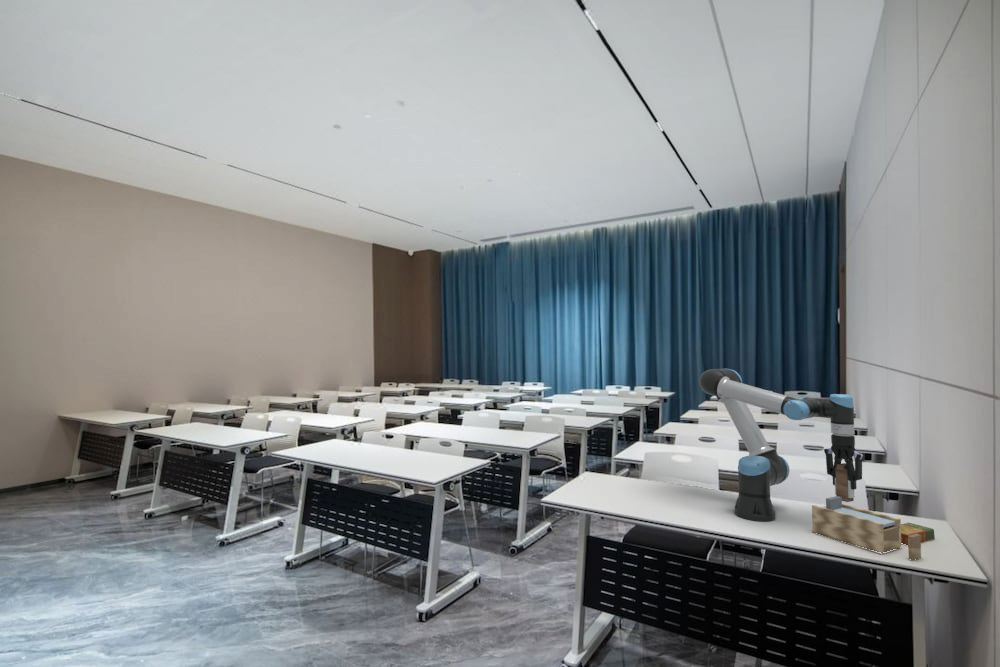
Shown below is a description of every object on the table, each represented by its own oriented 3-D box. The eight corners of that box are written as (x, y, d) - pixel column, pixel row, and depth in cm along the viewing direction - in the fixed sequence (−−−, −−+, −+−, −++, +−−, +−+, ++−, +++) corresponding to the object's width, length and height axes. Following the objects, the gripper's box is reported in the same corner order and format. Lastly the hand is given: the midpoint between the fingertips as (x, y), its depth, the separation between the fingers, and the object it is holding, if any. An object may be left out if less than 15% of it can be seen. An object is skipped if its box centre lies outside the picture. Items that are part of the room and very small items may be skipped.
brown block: (843, 498, 195) (841, 462, 196) (854, 500, 192) (852, 464, 192) (835, 499, 193) (834, 464, 194) (846, 502, 190) (845, 466, 190)
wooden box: (812, 532, 187) (811, 505, 188) (831, 527, 193) (831, 501, 193) (907, 563, 160) (906, 531, 161) (926, 556, 166) (925, 525, 166)
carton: (883, 539, 182) (882, 527, 182) (908, 532, 188) (908, 521, 188) (909, 547, 174) (909, 534, 174) (935, 540, 181) (934, 528, 181)
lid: (817, 510, 187) (817, 497, 187) (832, 507, 191) (831, 494, 191) (881, 528, 168) (880, 513, 169) (895, 524, 172) (895, 509, 173)
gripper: (814, 432, 199) (816, 491, 198) (861, 438, 184) (863, 503, 183) (825, 430, 203) (827, 489, 202) (872, 437, 187) (875, 500, 187)
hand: (844, 495), depth 192 cm, fingers closed on brown block, 4 cm apart
